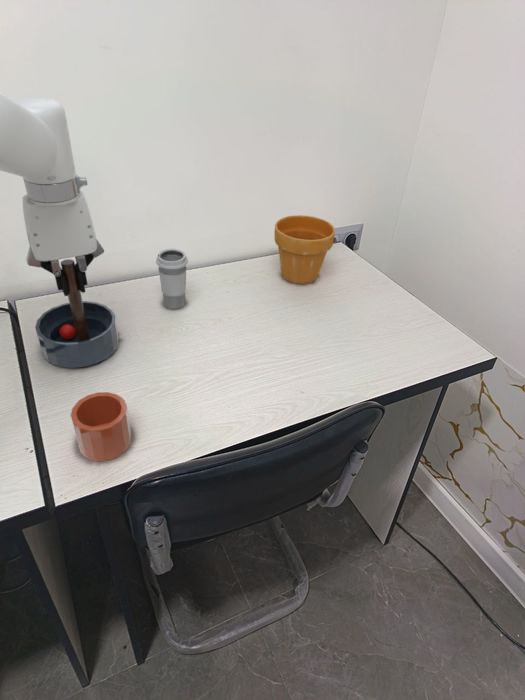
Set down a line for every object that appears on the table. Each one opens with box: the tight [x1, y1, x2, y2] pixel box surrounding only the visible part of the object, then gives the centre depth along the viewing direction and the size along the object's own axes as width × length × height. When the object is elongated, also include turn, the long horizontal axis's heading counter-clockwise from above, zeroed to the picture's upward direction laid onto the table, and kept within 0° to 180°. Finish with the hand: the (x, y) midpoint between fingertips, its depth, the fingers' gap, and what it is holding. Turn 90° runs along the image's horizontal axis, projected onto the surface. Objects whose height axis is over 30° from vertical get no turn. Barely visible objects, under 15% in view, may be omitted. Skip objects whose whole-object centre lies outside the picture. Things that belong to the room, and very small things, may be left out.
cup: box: [155, 248, 189, 310], centre depth 107 cm, size 7×7×12 cm
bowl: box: [34, 300, 120, 369], centre depth 95 cm, size 14×14×6 cm
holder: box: [70, 391, 132, 462], centre depth 76 cm, size 8×8×7 cm
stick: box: [60, 258, 90, 342], centre depth 89 cm, size 2×2×18 cm
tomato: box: [59, 324, 76, 340], centre depth 97 cm, size 3×3×3 cm
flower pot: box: [273, 214, 336, 285], centre depth 120 cm, size 14×14×13 cm
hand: (73, 289), depth 87 cm, fingers closed on stick, 2 cm apart
